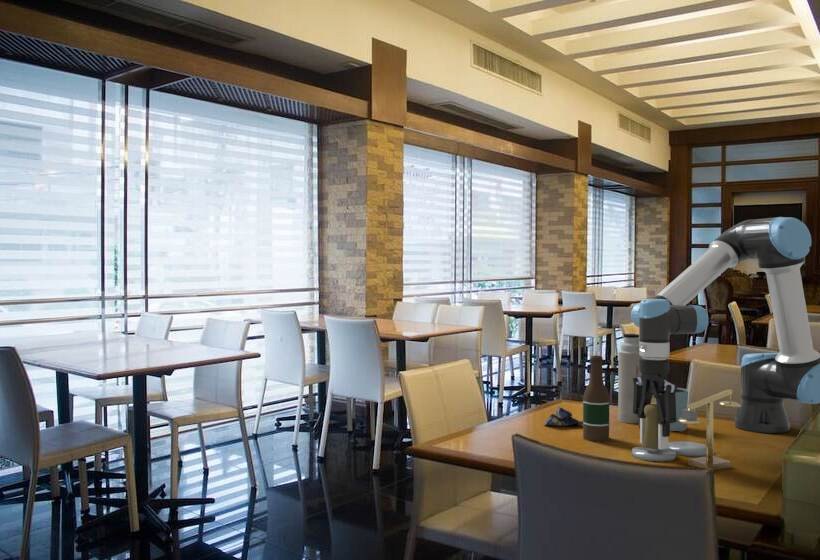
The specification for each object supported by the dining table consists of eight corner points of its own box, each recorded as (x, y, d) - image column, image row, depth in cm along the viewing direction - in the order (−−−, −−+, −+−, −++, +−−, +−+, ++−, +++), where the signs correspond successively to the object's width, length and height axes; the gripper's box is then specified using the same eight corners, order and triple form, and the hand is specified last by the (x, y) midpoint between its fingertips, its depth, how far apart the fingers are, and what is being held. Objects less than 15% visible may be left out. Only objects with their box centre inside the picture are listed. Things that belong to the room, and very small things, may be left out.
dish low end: (654, 448, 192) (654, 444, 192) (685, 458, 182) (685, 454, 182) (622, 453, 188) (622, 448, 188) (652, 463, 178) (652, 459, 178)
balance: (727, 458, 182) (727, 386, 181) (746, 465, 176) (747, 390, 176) (672, 467, 174) (672, 392, 174) (690, 474, 169) (691, 396, 168)
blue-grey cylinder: (677, 433, 209) (678, 393, 208) (646, 427, 216) (646, 389, 216) (694, 428, 215) (694, 389, 215) (663, 423, 223) (663, 385, 223)
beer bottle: (578, 435, 207) (578, 354, 206) (604, 435, 208) (604, 354, 207) (587, 442, 199) (587, 358, 199) (614, 441, 200) (614, 357, 199)
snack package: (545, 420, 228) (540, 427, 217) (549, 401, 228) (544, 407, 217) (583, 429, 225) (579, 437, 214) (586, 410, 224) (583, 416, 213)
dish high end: (688, 444, 197) (688, 439, 197) (719, 453, 187) (719, 449, 187) (657, 448, 193) (657, 443, 192) (688, 458, 182) (688, 453, 182)
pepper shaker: (668, 449, 181) (668, 407, 181) (643, 448, 183) (643, 406, 182) (664, 443, 187) (664, 402, 187) (641, 442, 188) (641, 402, 188)
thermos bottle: (649, 421, 224) (650, 334, 224) (631, 424, 221) (631, 335, 220) (631, 417, 232) (631, 332, 231) (612, 419, 228) (613, 333, 227)
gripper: (618, 354, 191) (618, 438, 192) (670, 363, 174) (669, 456, 175) (640, 352, 194) (639, 435, 195) (692, 361, 177) (692, 452, 178)
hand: (653, 445), depth 185 cm, fingers closed on pepper shaker, 6 cm apart
